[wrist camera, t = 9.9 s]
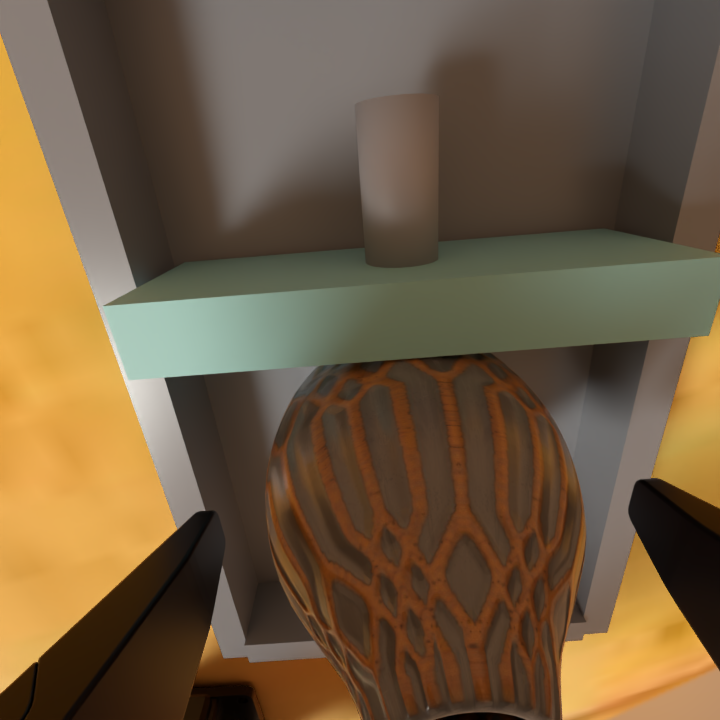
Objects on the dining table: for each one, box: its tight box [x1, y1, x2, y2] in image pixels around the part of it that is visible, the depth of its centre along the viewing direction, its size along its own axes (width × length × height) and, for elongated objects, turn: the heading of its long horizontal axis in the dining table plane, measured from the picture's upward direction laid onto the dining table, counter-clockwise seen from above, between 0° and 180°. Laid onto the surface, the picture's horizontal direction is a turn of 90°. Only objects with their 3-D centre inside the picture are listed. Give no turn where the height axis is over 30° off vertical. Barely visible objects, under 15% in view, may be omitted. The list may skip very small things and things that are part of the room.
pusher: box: [102, 93, 720, 380], centre depth 9 cm, size 4×11×4 cm, turn 94°
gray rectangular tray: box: [0, 0, 720, 663], centre depth 10 cm, size 22×14×6 cm, turn 4°
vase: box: [265, 353, 586, 720], centre depth 9 cm, size 7×7×9 cm
